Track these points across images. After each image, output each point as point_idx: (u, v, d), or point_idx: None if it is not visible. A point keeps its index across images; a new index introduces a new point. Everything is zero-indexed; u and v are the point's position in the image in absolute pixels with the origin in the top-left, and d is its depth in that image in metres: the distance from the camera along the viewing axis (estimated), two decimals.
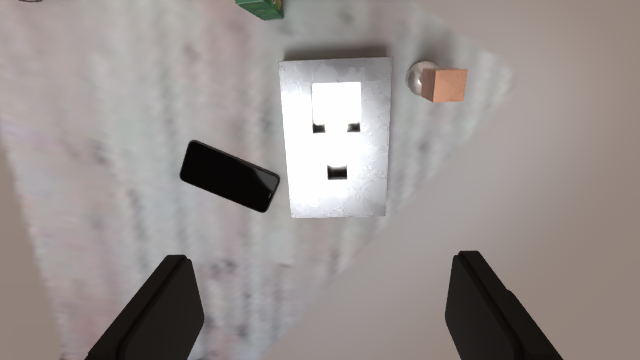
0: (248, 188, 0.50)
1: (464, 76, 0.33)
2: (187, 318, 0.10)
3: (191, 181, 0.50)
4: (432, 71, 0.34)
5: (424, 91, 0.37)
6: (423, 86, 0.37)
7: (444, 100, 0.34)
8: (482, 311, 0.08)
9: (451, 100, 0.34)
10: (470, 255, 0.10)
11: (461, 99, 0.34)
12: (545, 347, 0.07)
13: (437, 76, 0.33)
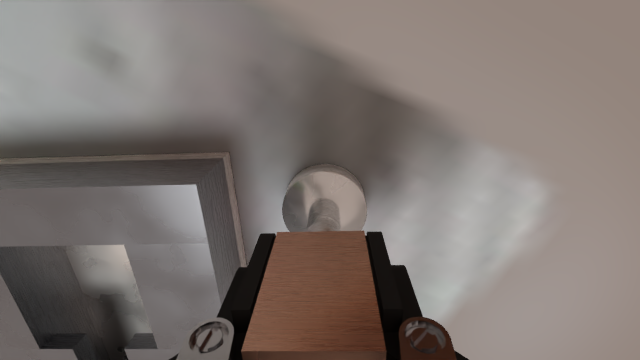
0: None
1: None
2: None
3: None
4: None
5: None
6: None
7: None
8: None
9: None
10: (372, 235, 0.11)
11: None
12: (398, 305, 0.08)
13: None
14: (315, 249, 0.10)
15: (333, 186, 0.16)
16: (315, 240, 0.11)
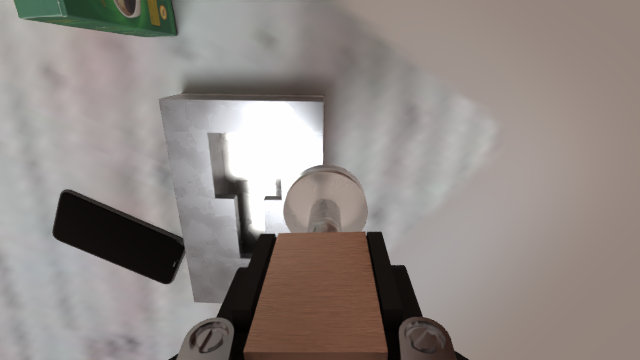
0: (145, 253, 0.37)
1: None
2: None
3: (68, 241, 0.37)
4: (255, 315, 0.08)
5: None
6: None
7: None
8: None
9: None
10: (372, 235, 0.11)
11: None
12: (398, 305, 0.08)
13: None
14: (316, 250, 0.10)
15: (334, 187, 0.16)
16: (316, 241, 0.11)
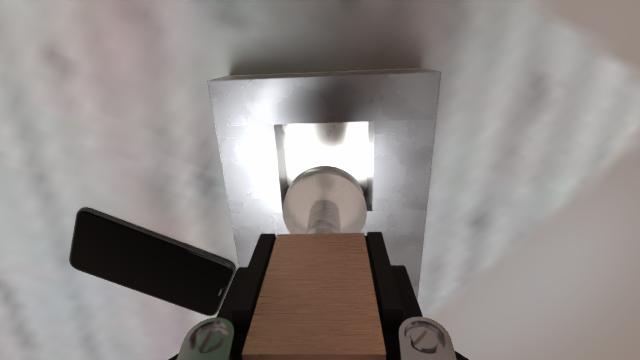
0: (184, 281, 0.30)
1: None
2: None
3: (89, 269, 0.30)
4: (254, 317, 0.08)
5: None
6: None
7: None
8: None
9: None
10: (372, 235, 0.11)
11: None
12: (398, 304, 0.08)
13: None
14: (315, 251, 0.10)
15: (333, 188, 0.16)
16: (315, 242, 0.11)
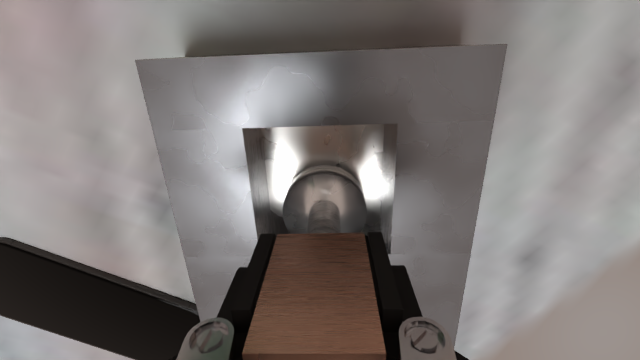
0: (139, 330, 0.23)
1: None
2: None
3: (15, 316, 0.23)
4: (254, 317, 0.08)
5: None
6: None
7: None
8: None
9: None
10: (372, 235, 0.11)
11: None
12: (398, 304, 0.08)
13: None
14: (315, 251, 0.11)
15: (333, 188, 0.16)
16: (315, 242, 0.11)
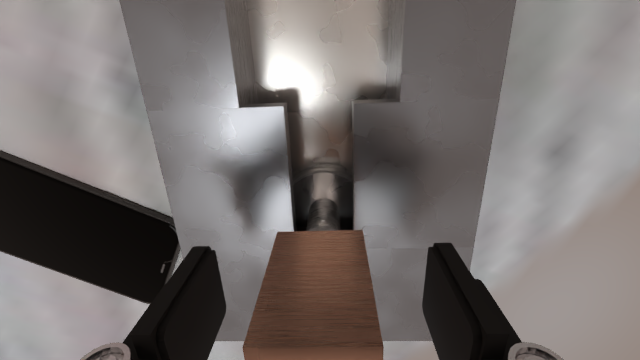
0: (109, 251, 0.20)
1: None
2: (212, 307, 0.11)
3: None
4: None
5: None
6: None
7: None
8: (450, 298, 0.09)
9: None
10: (443, 246, 0.10)
11: None
12: (501, 329, 0.07)
13: None
14: (314, 248, 0.11)
15: (332, 186, 0.16)
16: (314, 239, 0.11)
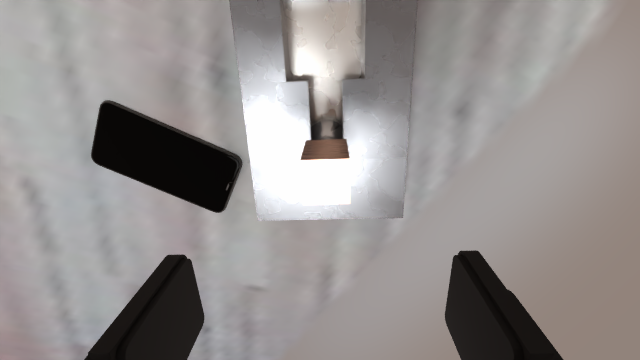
0: (195, 175, 0.33)
1: (346, 168, 0.20)
2: (187, 318, 0.10)
3: (109, 164, 0.33)
4: None
5: None
6: None
7: (320, 202, 0.21)
8: (482, 311, 0.08)
9: (331, 202, 0.21)
10: (470, 255, 0.10)
11: (347, 201, 0.21)
12: (545, 347, 0.07)
13: (303, 168, 0.20)
14: (324, 143, 0.24)
15: (332, 128, 0.29)
16: (323, 141, 0.24)
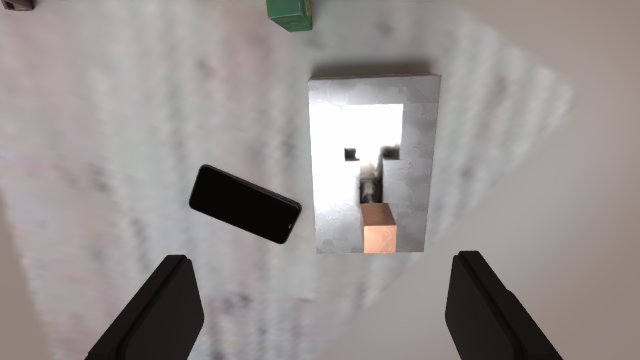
0: (266, 217, 0.44)
1: (394, 231, 0.31)
2: (187, 318, 0.10)
3: (202, 209, 0.44)
4: (363, 221, 0.32)
5: None
6: (360, 222, 0.36)
7: (375, 251, 0.32)
8: (482, 311, 0.08)
9: (383, 251, 0.32)
10: (470, 255, 0.10)
11: (393, 250, 0.32)
12: (545, 347, 0.07)
13: (366, 230, 0.31)
14: (374, 207, 0.35)
15: (373, 188, 0.40)
16: (373, 205, 0.35)
